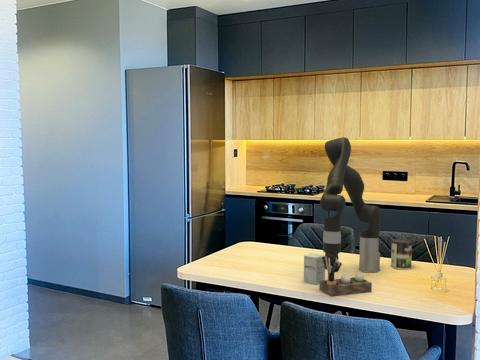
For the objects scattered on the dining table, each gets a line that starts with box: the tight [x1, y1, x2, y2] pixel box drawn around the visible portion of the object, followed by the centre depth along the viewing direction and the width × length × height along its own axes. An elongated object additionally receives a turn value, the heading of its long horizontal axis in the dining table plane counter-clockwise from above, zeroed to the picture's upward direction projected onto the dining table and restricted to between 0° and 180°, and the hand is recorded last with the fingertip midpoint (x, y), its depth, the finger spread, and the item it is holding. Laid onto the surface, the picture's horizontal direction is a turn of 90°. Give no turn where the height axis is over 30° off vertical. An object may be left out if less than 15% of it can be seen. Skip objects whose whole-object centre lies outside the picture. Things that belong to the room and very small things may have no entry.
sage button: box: [354, 273, 365, 282], centre depth 211 cm, size 4×4×3 cm
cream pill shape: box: [340, 274, 351, 284], centre depth 208 cm, size 4×4×3 cm
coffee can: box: [390, 238, 413, 271], centre depth 249 cm, size 10×10×14 cm
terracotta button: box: [327, 279, 336, 286], centre depth 206 cm, size 4×4×3 cm
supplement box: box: [303, 252, 326, 285], centre depth 222 cm, size 7×7×13 cm
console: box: [318, 276, 373, 297], centre depth 209 cm, size 20×10×4 cm, turn 110°
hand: (331, 280), depth 206 cm, fingers closed
